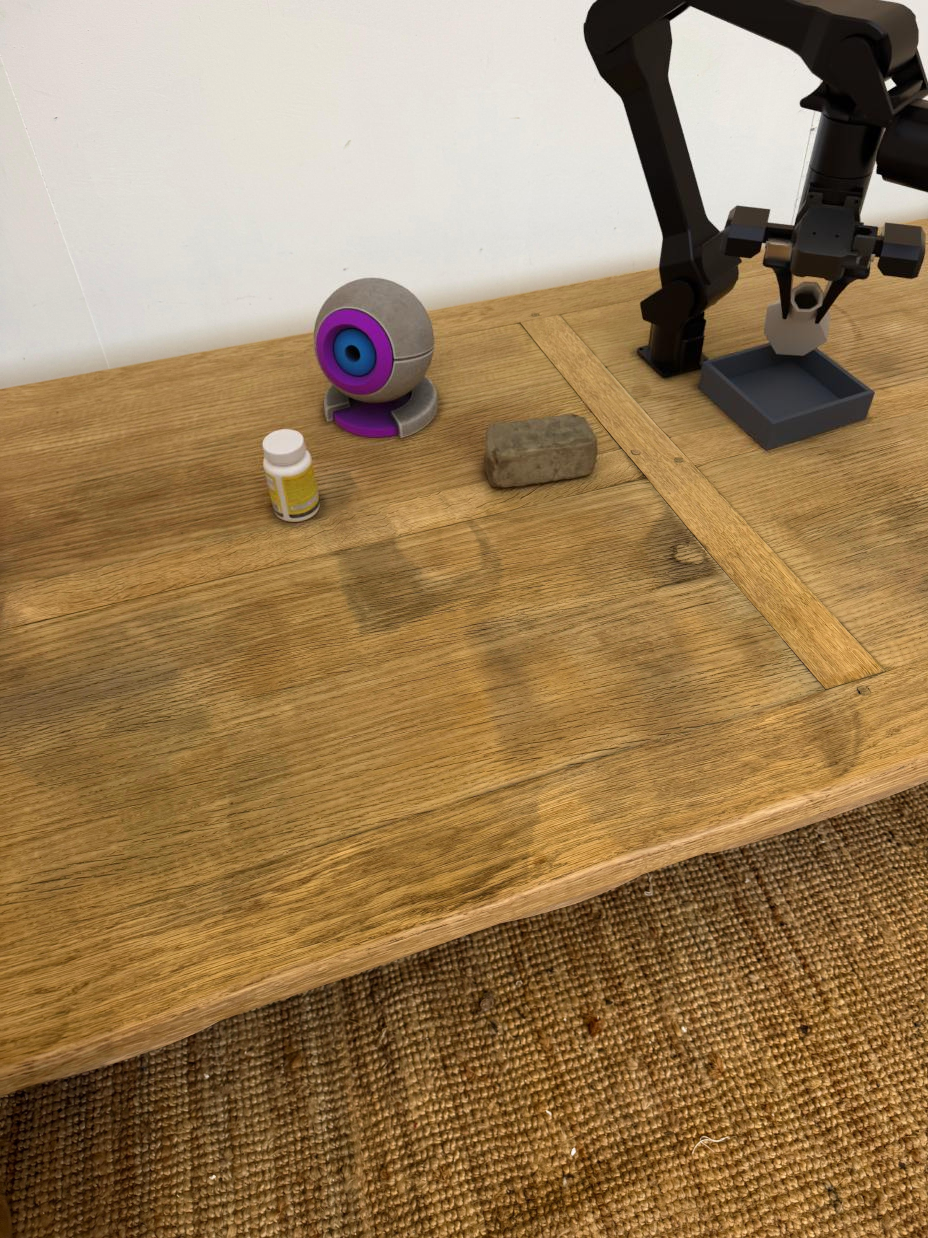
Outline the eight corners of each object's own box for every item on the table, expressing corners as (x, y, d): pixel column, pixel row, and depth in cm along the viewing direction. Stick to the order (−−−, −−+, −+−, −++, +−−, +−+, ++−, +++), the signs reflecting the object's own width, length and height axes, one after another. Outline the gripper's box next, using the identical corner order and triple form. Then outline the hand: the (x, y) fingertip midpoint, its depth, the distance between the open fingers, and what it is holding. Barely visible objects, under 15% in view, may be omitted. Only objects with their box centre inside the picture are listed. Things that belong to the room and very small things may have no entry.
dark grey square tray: (697, 387, 108) (702, 361, 106) (792, 360, 112) (799, 333, 109) (766, 450, 100) (773, 423, 97) (866, 419, 103) (875, 391, 101)
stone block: (598, 478, 98) (601, 439, 94) (491, 495, 96) (490, 456, 93) (582, 445, 102) (585, 406, 98) (479, 461, 100) (477, 423, 97)
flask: (757, 301, 106) (763, 271, 96) (823, 284, 104) (837, 251, 94) (769, 364, 105) (777, 340, 96) (837, 347, 104) (851, 321, 94)
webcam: (305, 426, 105) (282, 303, 94) (356, 367, 113) (340, 247, 102) (410, 450, 102) (399, 325, 91) (455, 387, 110) (450, 265, 99)
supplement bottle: (328, 498, 97) (316, 431, 91) (308, 527, 94) (294, 460, 88) (286, 489, 98) (272, 422, 92) (265, 518, 95) (249, 451, 89)
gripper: (727, 190, 84) (699, 346, 95) (949, 215, 80) (891, 375, 91) (743, 143, 91) (715, 293, 102) (947, 163, 87) (894, 317, 98)
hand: (800, 319), depth 98 cm, fingers closed on flask, 3 cm apart
